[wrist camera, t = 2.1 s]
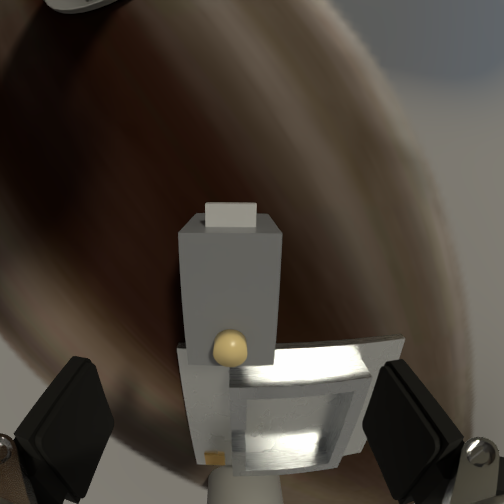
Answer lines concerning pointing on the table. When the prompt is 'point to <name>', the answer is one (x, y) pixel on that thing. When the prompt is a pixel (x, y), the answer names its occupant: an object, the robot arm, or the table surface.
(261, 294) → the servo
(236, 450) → the board
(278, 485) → the cup
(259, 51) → the table surface
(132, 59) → the table surface
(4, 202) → the table surface
